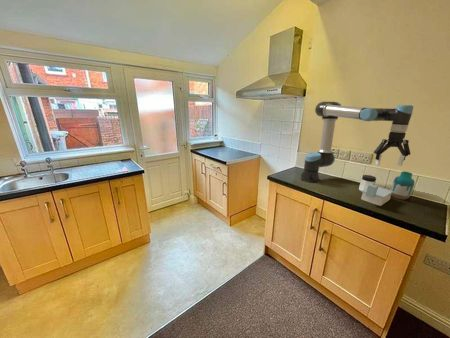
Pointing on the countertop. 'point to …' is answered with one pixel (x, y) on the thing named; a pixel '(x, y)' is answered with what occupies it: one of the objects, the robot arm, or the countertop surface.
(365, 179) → the jar
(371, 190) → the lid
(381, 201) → the tub
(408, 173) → the green capped bottle
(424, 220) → the countertop surface
